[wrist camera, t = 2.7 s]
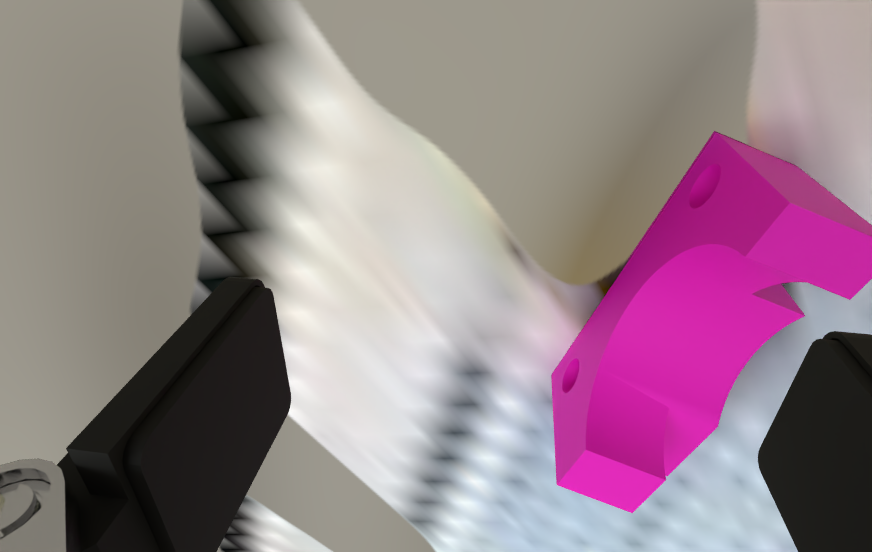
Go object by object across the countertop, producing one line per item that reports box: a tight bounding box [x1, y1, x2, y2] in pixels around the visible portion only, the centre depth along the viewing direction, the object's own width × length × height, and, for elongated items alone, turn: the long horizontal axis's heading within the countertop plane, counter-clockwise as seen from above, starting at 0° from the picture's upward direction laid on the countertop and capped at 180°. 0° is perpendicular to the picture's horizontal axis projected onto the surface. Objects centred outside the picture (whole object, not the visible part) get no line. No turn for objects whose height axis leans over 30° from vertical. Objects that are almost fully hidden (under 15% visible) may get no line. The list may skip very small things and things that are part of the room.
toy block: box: [551, 131, 872, 513], centre depth 23 cm, size 15×6×8 cm, turn 160°
